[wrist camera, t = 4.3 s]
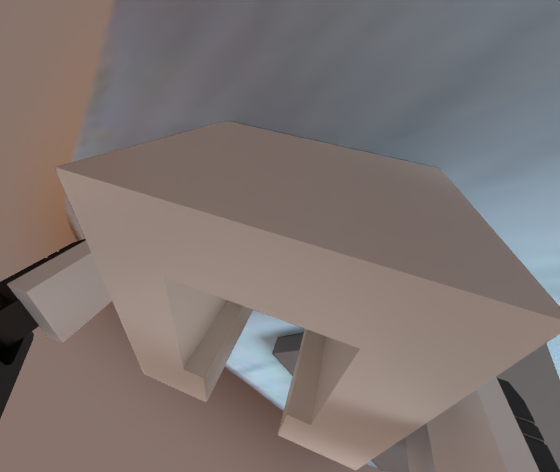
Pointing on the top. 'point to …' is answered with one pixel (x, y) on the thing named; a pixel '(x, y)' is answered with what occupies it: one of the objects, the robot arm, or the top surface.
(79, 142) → the top surface
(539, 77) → the top surface
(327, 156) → the beige notched hollow block
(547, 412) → the base plate
